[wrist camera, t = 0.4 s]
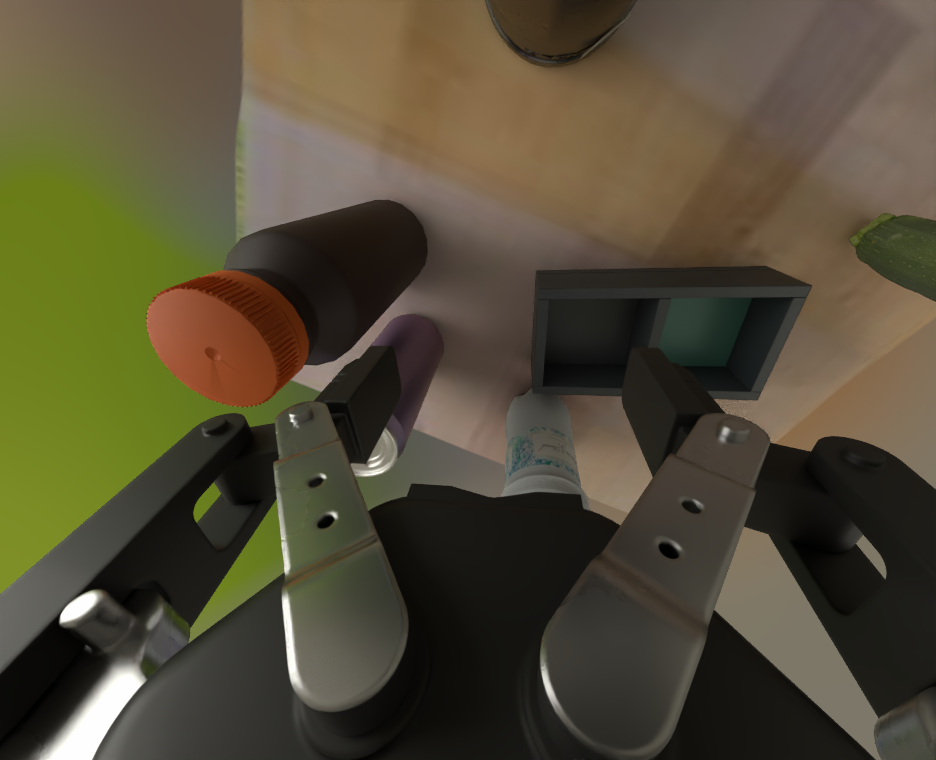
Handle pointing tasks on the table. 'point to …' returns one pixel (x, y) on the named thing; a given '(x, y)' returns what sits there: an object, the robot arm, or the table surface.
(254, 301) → the vinegar
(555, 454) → the bottle
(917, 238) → the vegetable
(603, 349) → the divided tray
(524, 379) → the table surface
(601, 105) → the table surface
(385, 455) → the beverage can
